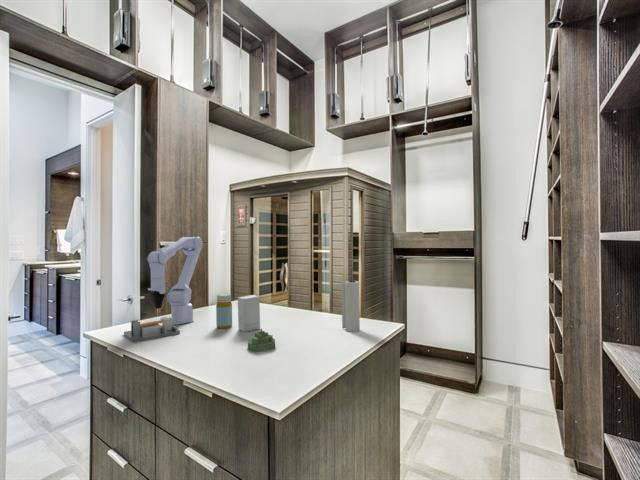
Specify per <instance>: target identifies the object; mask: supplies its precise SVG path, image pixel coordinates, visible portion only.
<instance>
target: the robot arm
mask: <svg viewBox="0 0 640 480" xmlns="http://www.w3.org/2000/svg"><path fill="white" fill-rule="evenodd" d="M203 245H204V244H203V240H202V238H201V237H200V236H182V237H180V238H179V240H177V241H176V242H174V243H173V244H169V243H168V244H167V243H166V244H164V246H162V247H161V248H158V249H157V250H155V251H151V252H149V253H148V256H147V258H146V259H147V262H148V265H149V269H150V287H148V288H147V290H148V291H151V292H150V293H149V294H150V295H149V296H150V297H151V298H152V302H153V305H154V308H155V309H161V308H162V304H163V302H164V301H163V300H164V298H165V296H166V295H167V297H166V300H167V303H169V305H170V308H171V311H170V312H171V313H170V314H171V317H170V318H172V325H174V326H176V325H181V324H188V323H193V322H194V316H193V315H194V307H193V304H192V303H191V299H192V293H193V290H192V289H191V288H190V283H191V280H192V277H193V274H194V271H195V269H196V265H197V262H198V261H199V257H200V254H201V252H202V248H203ZM181 249H182V251H183V253H184V255H186V258H185V262H184V265H183V267H182V269H181V273H180V276H179V278H178V281H177V283H176V284H174V285H173V286H171V289H170V290H169V292H168V294H167V293H166V271H165V269H166V267H165V265H166V264H167V262H168V261H169V259H170V258H172V257H174V256H175V255H176V253H177V252H178V251H180V250H181Z"/></svg>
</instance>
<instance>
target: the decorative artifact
mask: <svg viewBox="0 0 640 480" xmlns="http://www.w3.org/2000/svg"><path fill="white" fill-rule="evenodd" d="M275 348H276V339H275V338H274V337H273V334H269V332H267V331H265V330H263V328H260V330H259V331H258V332H255V333H254V335H252V338H250V339H248V341H247V350H248V351H249V352H254V353H257V352H258V353H261V352H268V351H271V350H274V349H275Z"/></svg>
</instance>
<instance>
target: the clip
mask: <svg viewBox="0 0 640 480" xmlns="http://www.w3.org/2000/svg"><path fill="white" fill-rule="evenodd" d="M160 320H162V323H161V324H162V327H163V328H165V329H167V331H169V330H172V325H173V324H172V318H171V317H169V316H165V317H160Z"/></svg>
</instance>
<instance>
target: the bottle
mask: <svg viewBox="0 0 640 480" xmlns="http://www.w3.org/2000/svg"><path fill="white" fill-rule="evenodd" d="M216 297H217V298H216V306H215V310H216V316H215V317H216V318H215V319H216V328H217V329H222V330H223V329H230V328H232V326H233V303H232V294H231V293H220V294H217V296H216Z"/></svg>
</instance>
